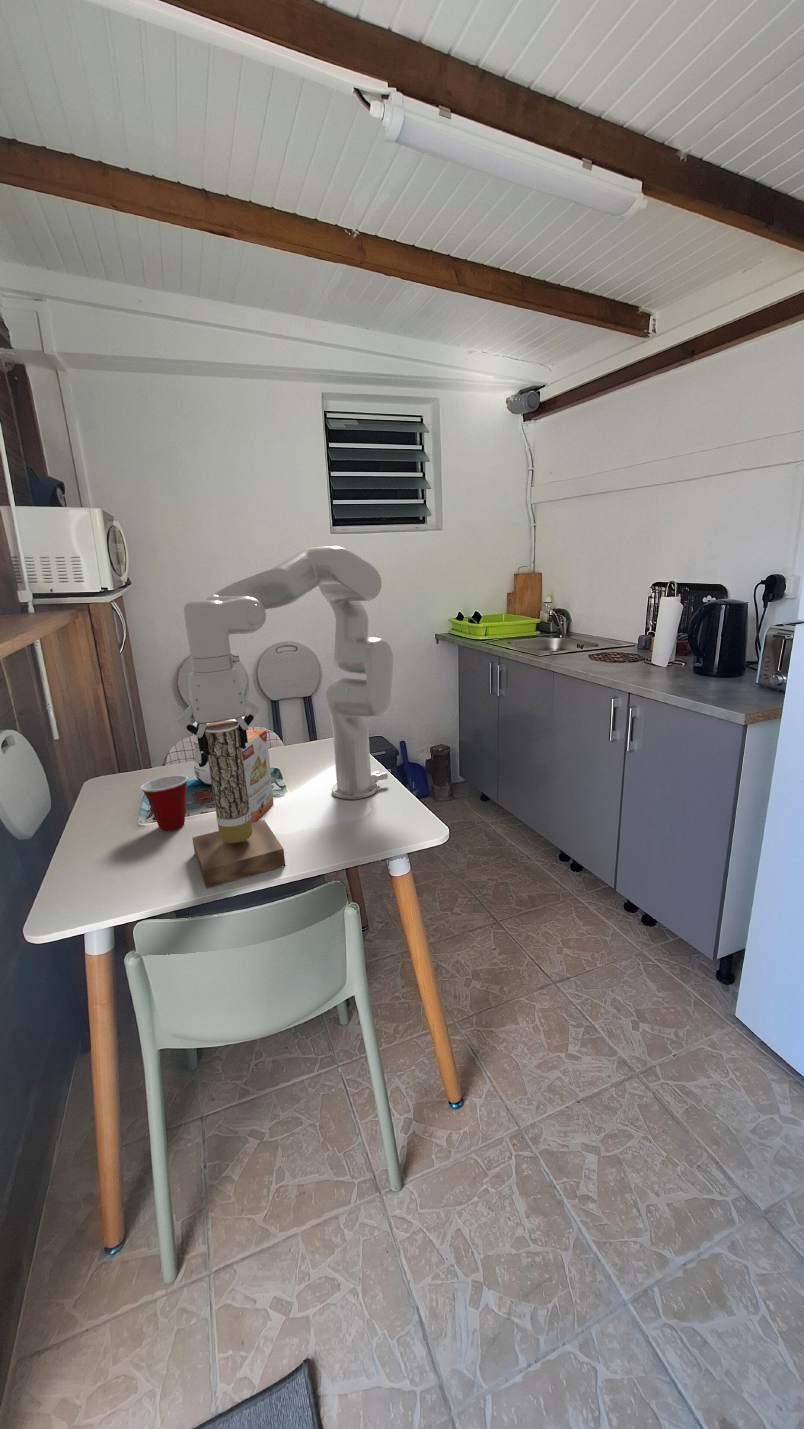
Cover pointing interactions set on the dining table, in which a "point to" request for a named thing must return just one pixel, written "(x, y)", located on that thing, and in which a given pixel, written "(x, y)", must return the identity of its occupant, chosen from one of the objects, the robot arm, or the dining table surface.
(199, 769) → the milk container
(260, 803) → the cracker box
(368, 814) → the dining table surface
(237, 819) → the paper tube
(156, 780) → the plastic cup
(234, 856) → the walnut base
